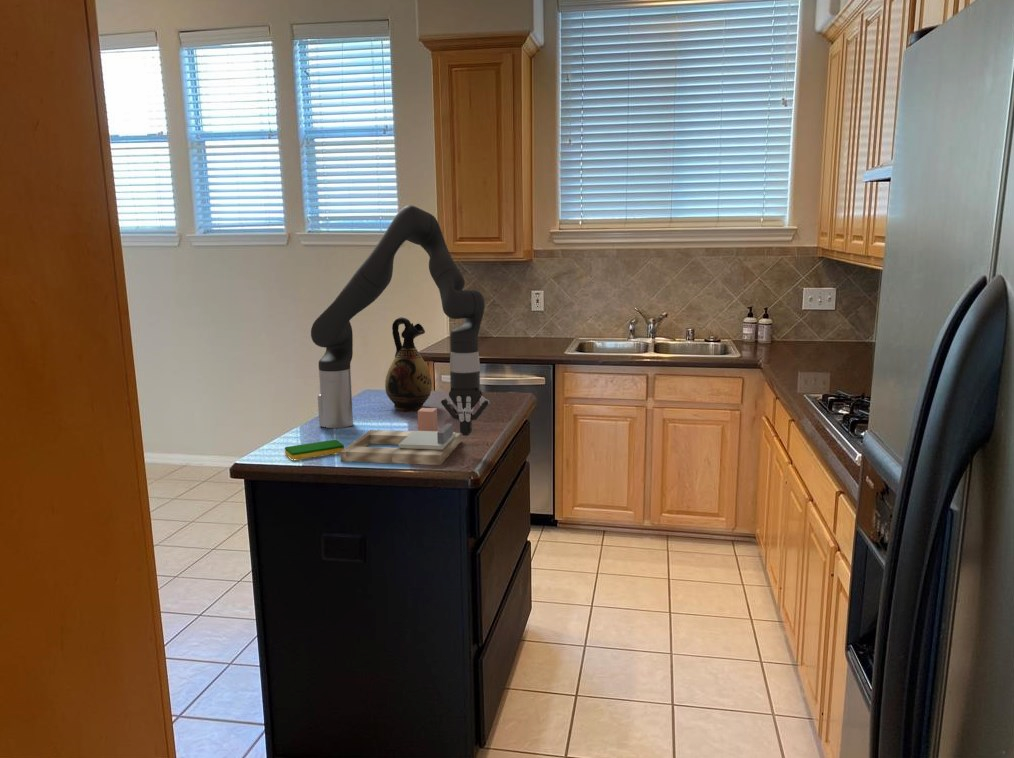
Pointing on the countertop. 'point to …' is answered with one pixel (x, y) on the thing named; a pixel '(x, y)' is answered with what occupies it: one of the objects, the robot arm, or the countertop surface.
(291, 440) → the countertop surface
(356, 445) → the board
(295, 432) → the countertop surface
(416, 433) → the cover
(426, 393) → the ceramic jug
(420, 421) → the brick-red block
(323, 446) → the dish sponge
